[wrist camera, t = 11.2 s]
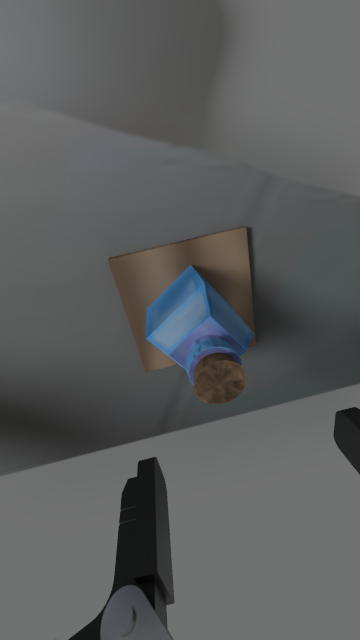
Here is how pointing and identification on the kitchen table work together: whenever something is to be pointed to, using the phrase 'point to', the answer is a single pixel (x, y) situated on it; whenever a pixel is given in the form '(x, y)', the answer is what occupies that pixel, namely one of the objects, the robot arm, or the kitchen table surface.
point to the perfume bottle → (201, 336)
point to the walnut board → (167, 265)
